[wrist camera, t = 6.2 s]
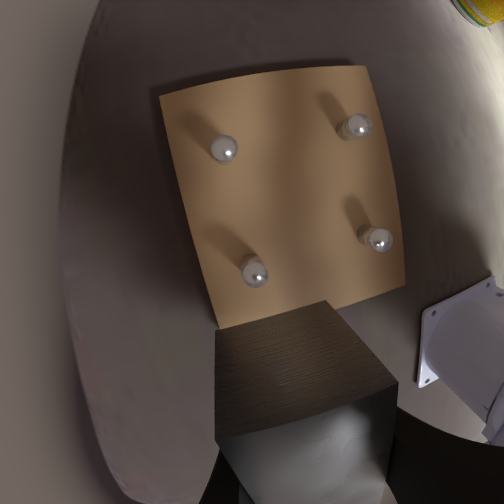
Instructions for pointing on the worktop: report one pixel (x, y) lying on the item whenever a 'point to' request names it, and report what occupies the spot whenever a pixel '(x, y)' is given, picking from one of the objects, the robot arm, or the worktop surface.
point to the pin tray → (287, 190)
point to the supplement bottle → (481, 11)
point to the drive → (304, 409)
